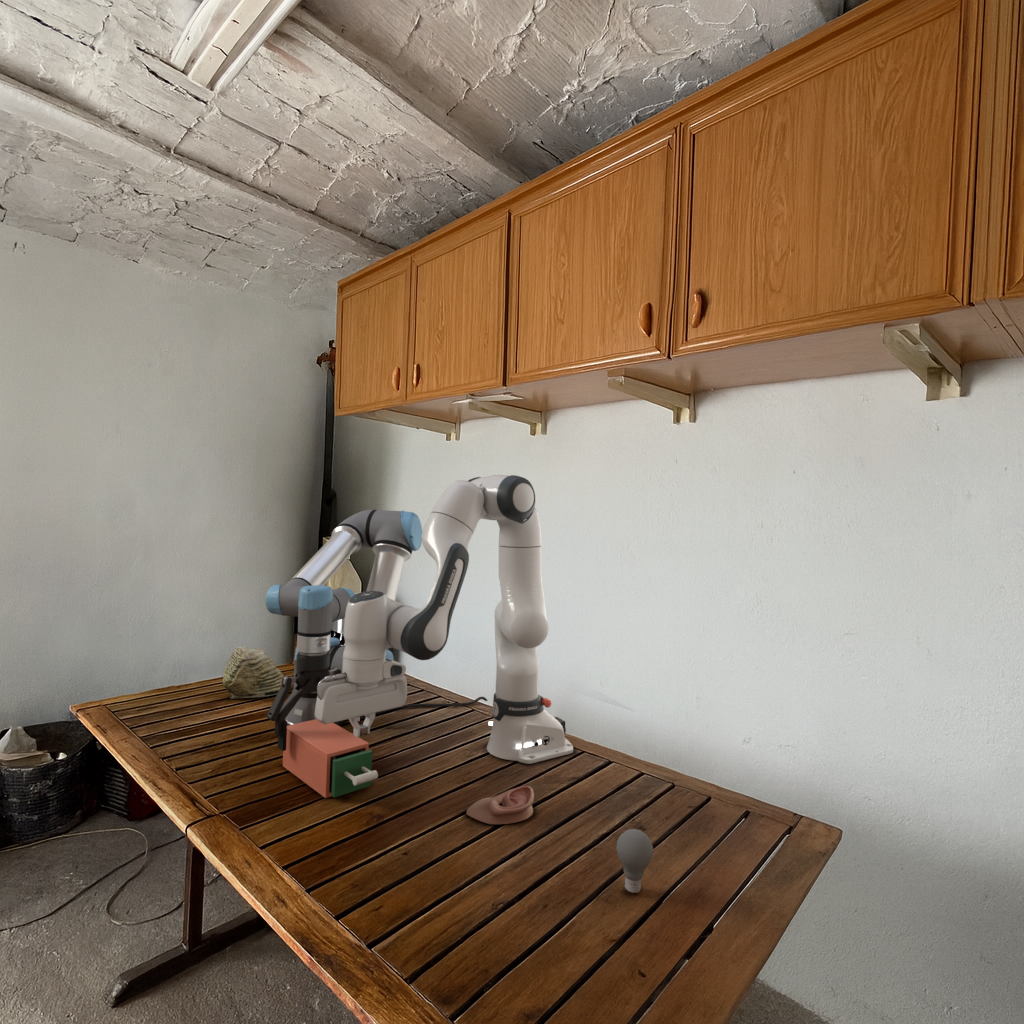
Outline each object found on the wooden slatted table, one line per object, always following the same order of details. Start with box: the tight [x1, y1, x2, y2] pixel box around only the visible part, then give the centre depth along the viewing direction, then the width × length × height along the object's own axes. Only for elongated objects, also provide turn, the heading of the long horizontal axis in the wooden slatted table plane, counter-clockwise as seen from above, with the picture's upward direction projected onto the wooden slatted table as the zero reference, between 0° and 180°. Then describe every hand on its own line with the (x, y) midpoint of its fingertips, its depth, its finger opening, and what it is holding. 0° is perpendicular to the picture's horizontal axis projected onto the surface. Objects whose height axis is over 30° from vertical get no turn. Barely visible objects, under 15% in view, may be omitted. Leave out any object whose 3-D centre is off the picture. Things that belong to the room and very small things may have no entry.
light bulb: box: [615, 828, 654, 894], centre depth 106 cm, size 6×6×10 cm
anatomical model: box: [465, 785, 535, 825], centre depth 130 cm, size 13×4×12 cm
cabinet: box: [282, 719, 370, 799], centre depth 144 cm, size 21×10×9 cm, turn 45°
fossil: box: [222, 646, 284, 699], centre depth 198 cm, size 9×18×15 cm, turn 132°
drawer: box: [329, 749, 379, 798], centre depth 140 cm, size 25×9×8 cm, turn 44°
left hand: (309, 742), depth 149 cm, fingers open, 13 cm apart
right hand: (361, 734), depth 133 cm, fingers closed
